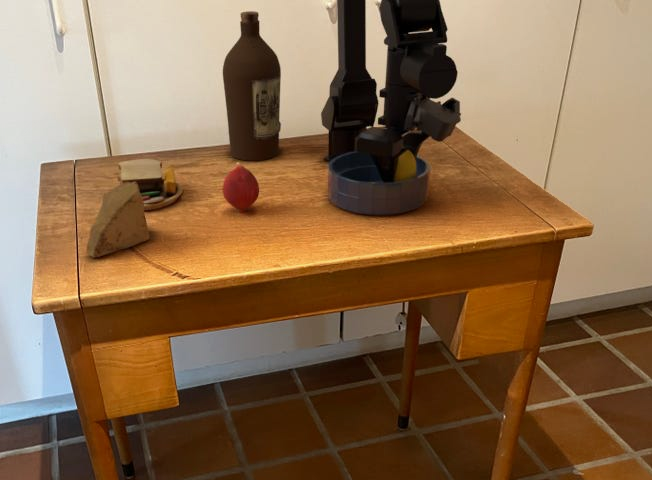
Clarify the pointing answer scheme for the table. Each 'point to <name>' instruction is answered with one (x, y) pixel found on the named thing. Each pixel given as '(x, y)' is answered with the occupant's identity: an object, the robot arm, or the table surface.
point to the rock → (118, 221)
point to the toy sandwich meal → (150, 182)
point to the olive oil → (252, 94)
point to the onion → (240, 188)
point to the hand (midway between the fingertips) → (397, 182)
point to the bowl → (374, 186)
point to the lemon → (405, 167)
